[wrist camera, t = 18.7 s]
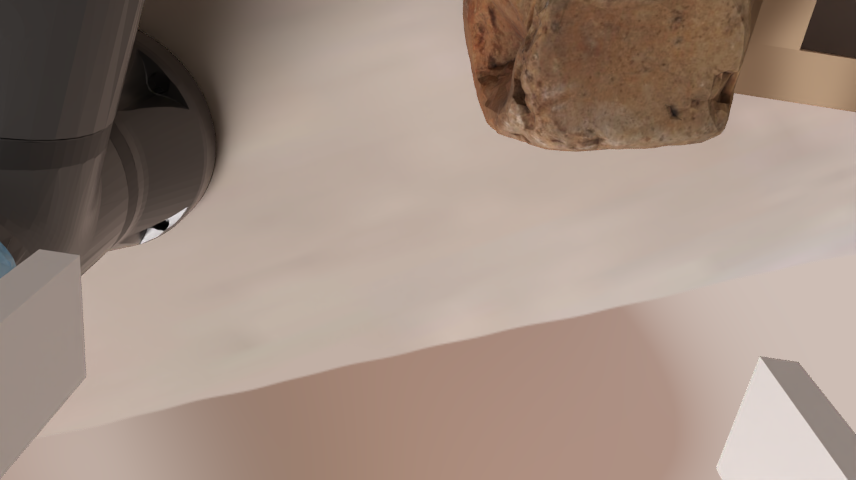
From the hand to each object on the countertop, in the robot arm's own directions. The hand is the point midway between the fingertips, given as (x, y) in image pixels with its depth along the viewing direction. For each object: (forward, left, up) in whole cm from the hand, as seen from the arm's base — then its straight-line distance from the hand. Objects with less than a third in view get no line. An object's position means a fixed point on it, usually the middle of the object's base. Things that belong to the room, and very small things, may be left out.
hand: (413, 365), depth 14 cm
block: (+6, +4, -35) cm, 36 cm away
